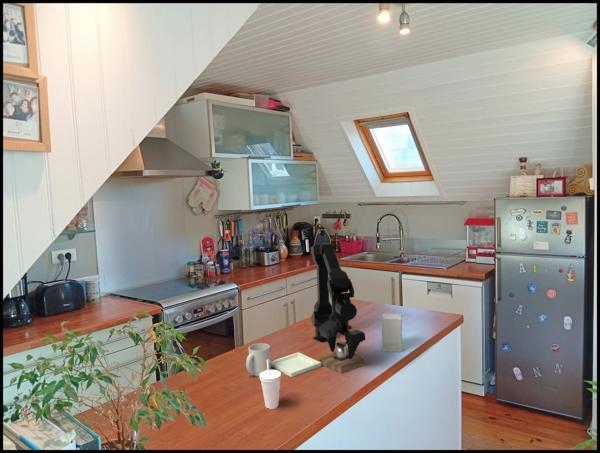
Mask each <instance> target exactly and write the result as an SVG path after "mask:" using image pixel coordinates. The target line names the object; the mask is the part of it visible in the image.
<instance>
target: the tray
mask: <svg viewBox="0 0 600 453" xmlns="http://www.w3.org/2000/svg"><path fill="white" fill-rule="evenodd" d="M270 363H271V369H273V370H277V371H280V372H281V374H283V375H286V376H287V377H290V378H293V377H296V376H299V375H302V374H305V373H307V372H309V371H314V370H316V369H319V368H321V367H322V365H321V362H320V360H316V359H314V358H312V357H310V356H308V355H305V354H303V353H301V352H299V351H297V352H295V353H292V354H289V355H286V356H283V357H280V358H277V359H275V360H274V359H273V360H270Z"/></svg>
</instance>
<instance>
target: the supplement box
mask: <svg viewBox="0 0 600 453" xmlns="http://www.w3.org/2000/svg"><path fill="white" fill-rule="evenodd" d="M402 321H403V320H402V314H401V313H381V347H382V348H381V350H382V352H388V353H389V352H390V353H402V352H403V334H402V331H403V328H402V326H403V322H402Z"/></svg>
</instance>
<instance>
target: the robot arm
mask: <svg viewBox="0 0 600 453" xmlns="http://www.w3.org/2000/svg"><path fill="white" fill-rule="evenodd" d="M310 255H311V257H312V260H313V261H314V263H315V264H316V285H317V287H316V288H317V289H316V290H317V301H316V302H315V304H314V305H313V311H312V314H311V318H310V319H311V324H312V326H313V327H315V332H314V333H315V336H312V340H316V341H317V342H320V343H325V342H327V343H328V344H327V345H328V347H329V349H330V351H331V353H333V352H335V349H336V343H337V336H338V334H340V335H341V336H344V339H345V341H344V343H346V346H347V351H348V355H349V359H352V358H353V356H354V354H355V353H356V351H357V349H358V347H359V345H360V343H362V342H363V341H366V333H365V332H364V331H361V330H359V329H354V330H352V325H350V324H349V323H350V322H349V321H352V320H353V319H354V318H356V316H357V313H358V310H357V307H356V305H355V304H354V303H352V300H351V298H355V290H354V285H353V282H352V281H351V279H350V278H349V276H348V273H347V272H346V271H344V269H343V270H342V267H341V265H340V263H339V260H338V258H337V257H338V256H337V254H336V252H335V244H334V243H330V242H321V243H320V242H319V243H314V244H313V245H312V246H311V247H310ZM330 300H331V302H330ZM350 330H351V331H350Z"/></svg>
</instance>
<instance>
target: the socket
mask: <svg viewBox="0 0 600 453" xmlns="http://www.w3.org/2000/svg"><path fill="white" fill-rule="evenodd" d="M346 358H347V359H346V360H343V361H339V360H337V350H336V351H334V352H331V353H328V354H325V355H321V356H319V362H321V366H323V367H324V368H327V369H330V370H332V371H333V372H336V373H339V374H340V375H341V374H345V373H347V372H349V371H351V370H354V369H357V368H359V367H361V366H364V365H365V357H363V356H360V355H358V354H355V353H354V356H353V358H352V359H349V355H348V350H346Z"/></svg>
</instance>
